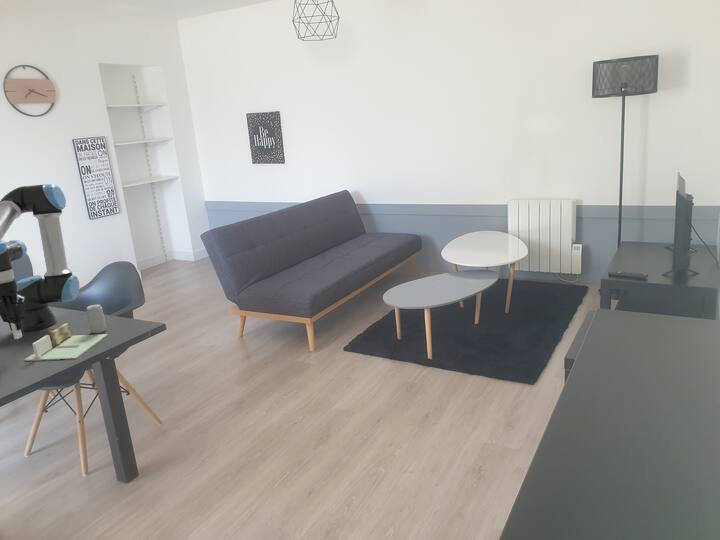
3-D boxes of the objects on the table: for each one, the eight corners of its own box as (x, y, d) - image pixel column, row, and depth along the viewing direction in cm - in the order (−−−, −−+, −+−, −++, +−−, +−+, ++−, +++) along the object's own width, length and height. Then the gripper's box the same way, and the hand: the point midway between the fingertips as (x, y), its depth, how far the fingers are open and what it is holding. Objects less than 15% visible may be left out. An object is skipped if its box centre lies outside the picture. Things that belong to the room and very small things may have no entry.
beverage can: (90, 335, 243) (85, 309, 240) (91, 330, 249) (86, 305, 246) (106, 332, 245) (101, 306, 242) (107, 327, 251) (101, 302, 248)
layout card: (60, 337, 244) (60, 336, 244) (108, 335, 242) (107, 333, 241) (24, 361, 221) (23, 359, 221) (76, 359, 219) (76, 357, 218)
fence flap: (48, 348, 230) (45, 335, 228) (53, 348, 230) (50, 334, 228) (34, 357, 221) (30, 343, 220) (40, 357, 221) (36, 343, 219)
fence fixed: (67, 338, 243) (63, 320, 240) (72, 337, 242) (68, 320, 240) (50, 349, 231) (45, 331, 229) (55, 349, 230) (50, 331, 228)
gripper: (-19, 284, 213) (-4, 342, 219) (12, 282, 212) (27, 340, 217) (-5, 279, 220) (9, 335, 226) (26, 277, 219) (39, 333, 225)
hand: (18, 337), depth 222 cm, fingers closed
